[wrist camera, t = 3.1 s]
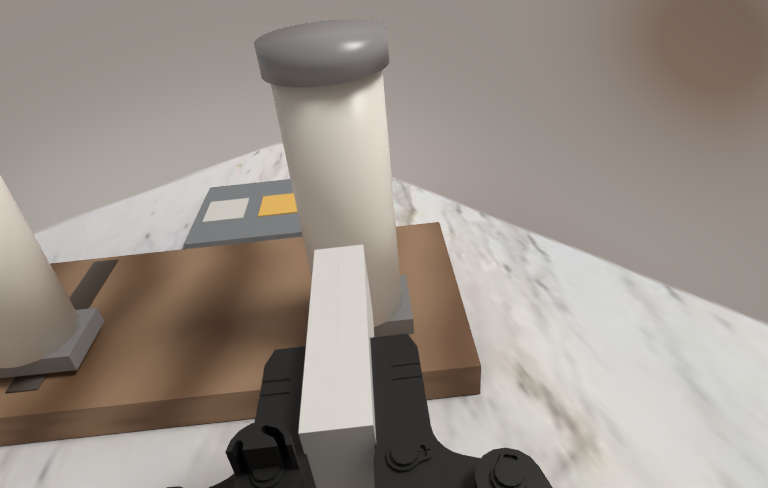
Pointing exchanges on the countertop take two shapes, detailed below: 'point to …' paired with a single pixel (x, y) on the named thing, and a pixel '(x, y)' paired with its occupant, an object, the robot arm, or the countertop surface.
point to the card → (246, 215)
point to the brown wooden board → (215, 336)
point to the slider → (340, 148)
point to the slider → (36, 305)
